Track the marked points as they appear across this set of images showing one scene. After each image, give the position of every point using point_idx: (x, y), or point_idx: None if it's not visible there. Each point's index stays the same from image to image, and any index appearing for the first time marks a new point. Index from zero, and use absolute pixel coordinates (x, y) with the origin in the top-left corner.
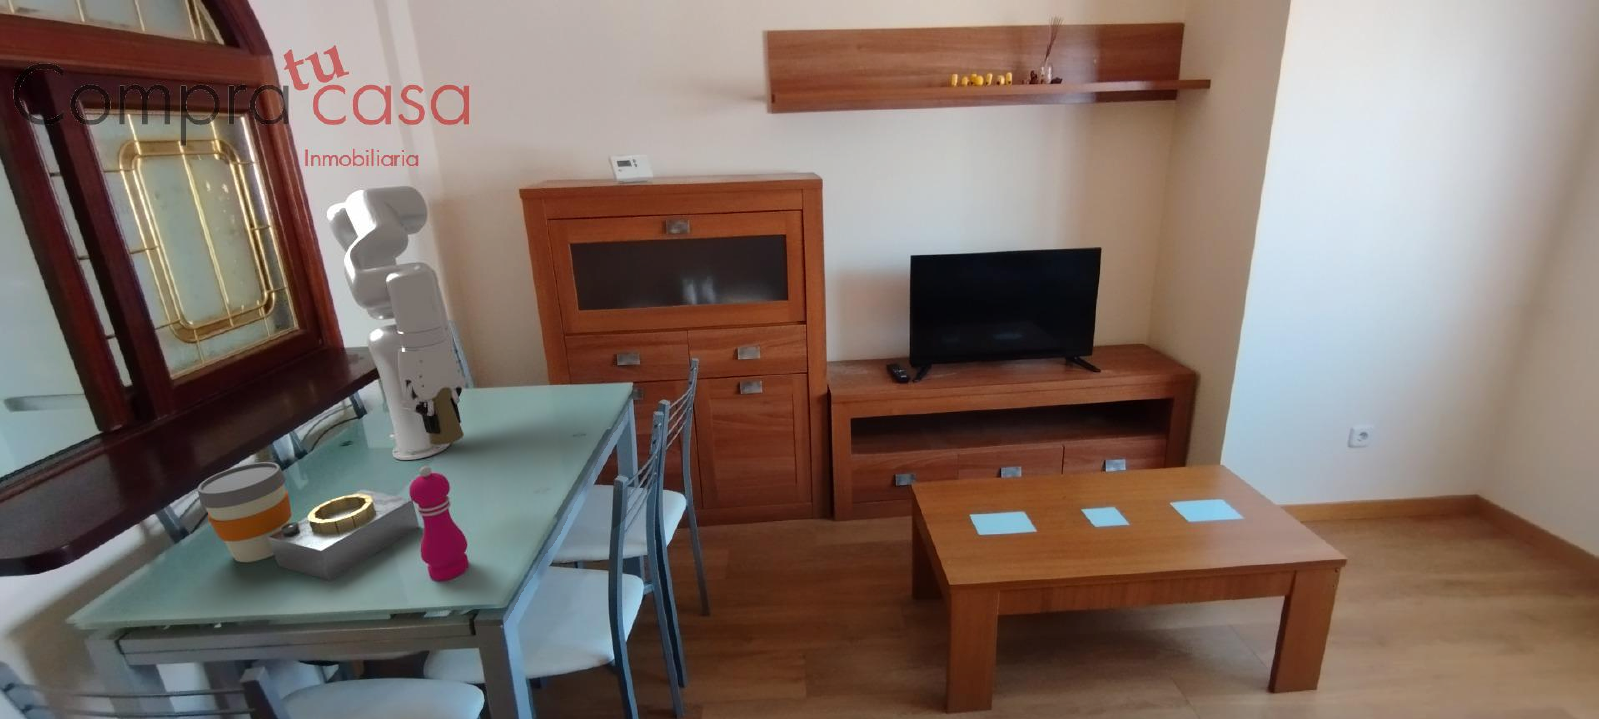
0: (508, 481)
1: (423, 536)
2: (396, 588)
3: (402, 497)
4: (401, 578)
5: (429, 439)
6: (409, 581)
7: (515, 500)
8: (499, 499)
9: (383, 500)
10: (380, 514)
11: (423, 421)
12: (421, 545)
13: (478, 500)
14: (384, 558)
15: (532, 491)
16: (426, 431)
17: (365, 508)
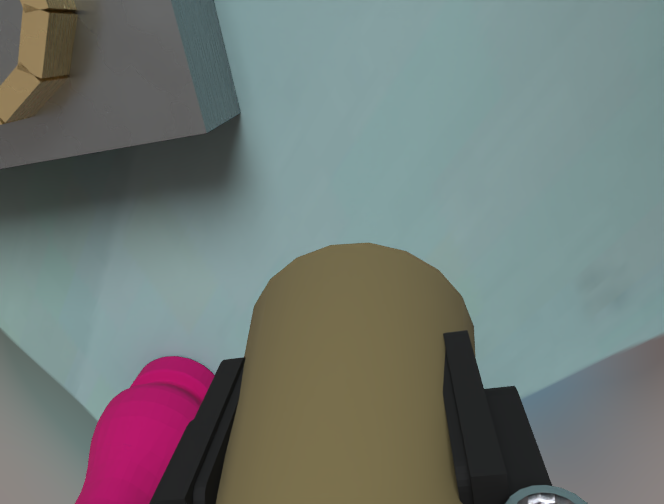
0: (629, 109)
1: (87, 469)
2: (70, 346)
3: (189, 70)
4: (92, 322)
5: (251, 321)
6: (101, 349)
7: (512, 262)
8: (497, 205)
9: (124, 12)
10: (74, 133)
11: (162, 479)
12: (90, 446)
13: (461, 138)
14: (94, 194)
15: (586, 264)
16: (222, 366)
17: (2, 121)
